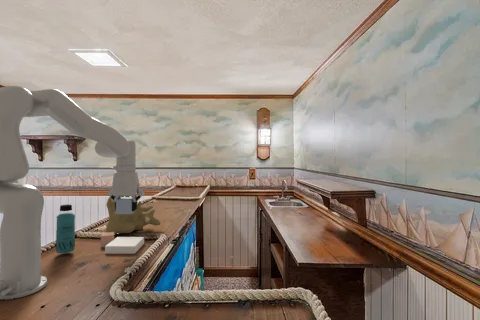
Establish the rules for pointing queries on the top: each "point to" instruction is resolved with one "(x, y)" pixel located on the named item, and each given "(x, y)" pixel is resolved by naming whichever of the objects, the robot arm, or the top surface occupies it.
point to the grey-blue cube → (124, 205)
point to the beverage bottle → (65, 230)
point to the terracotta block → (106, 238)
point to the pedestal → (124, 245)
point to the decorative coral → (129, 218)
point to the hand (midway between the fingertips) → (126, 210)
